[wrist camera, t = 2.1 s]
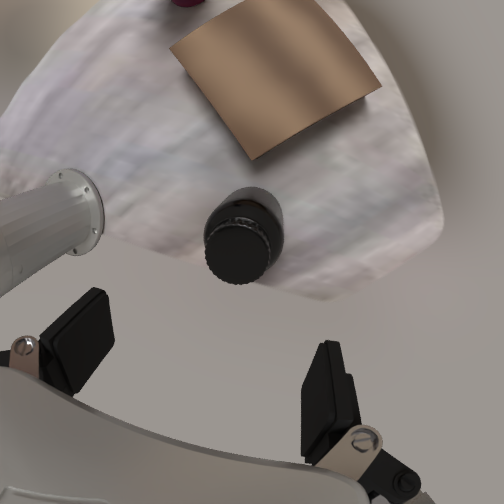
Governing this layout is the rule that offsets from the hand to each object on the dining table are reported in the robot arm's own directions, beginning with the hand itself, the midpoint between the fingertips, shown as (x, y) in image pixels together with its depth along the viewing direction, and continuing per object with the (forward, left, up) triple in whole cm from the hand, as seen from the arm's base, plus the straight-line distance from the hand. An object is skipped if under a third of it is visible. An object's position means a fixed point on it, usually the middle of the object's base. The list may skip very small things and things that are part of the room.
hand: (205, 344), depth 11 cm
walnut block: (+11, +12, -22) cm, 27 cm away
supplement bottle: (0, 0, -22) cm, 22 cm away
